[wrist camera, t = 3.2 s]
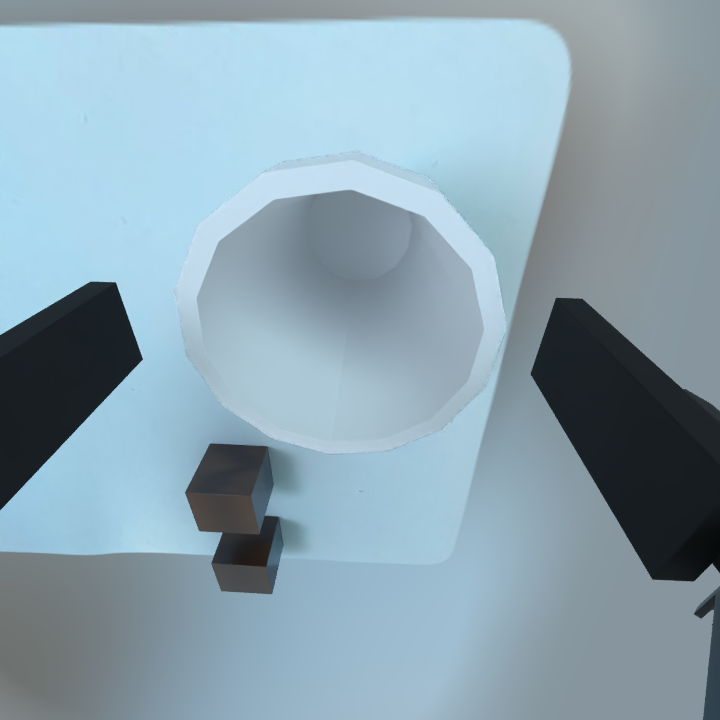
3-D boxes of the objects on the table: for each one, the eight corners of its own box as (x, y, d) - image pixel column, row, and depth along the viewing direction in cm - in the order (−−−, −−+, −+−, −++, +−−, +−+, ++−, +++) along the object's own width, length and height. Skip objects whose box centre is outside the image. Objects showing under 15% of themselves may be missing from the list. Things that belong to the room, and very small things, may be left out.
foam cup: (441, 122, 19) (525, 135, 8) (443, 293, 24) (495, 445, 13) (259, 149, 20) (113, 193, 9) (297, 307, 25) (233, 459, 14)
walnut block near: (267, 446, 32) (250, 496, 28) (273, 484, 35) (259, 534, 31) (209, 443, 32) (184, 492, 28) (220, 481, 35) (199, 531, 31)
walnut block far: (278, 516, 38) (266, 567, 34) (283, 544, 41) (272, 594, 36) (229, 514, 38) (211, 563, 34) (237, 542, 41) (221, 591, 36)
